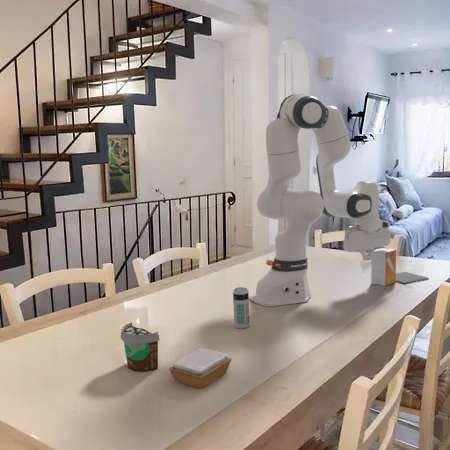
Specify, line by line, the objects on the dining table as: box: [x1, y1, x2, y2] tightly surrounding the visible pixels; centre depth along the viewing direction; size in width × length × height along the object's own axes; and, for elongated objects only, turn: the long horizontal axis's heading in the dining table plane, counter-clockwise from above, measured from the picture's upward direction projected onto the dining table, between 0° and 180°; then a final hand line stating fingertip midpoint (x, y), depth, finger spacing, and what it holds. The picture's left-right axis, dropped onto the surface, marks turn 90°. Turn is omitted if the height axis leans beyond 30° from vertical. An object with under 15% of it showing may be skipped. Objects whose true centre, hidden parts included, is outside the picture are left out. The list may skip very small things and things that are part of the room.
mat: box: [394, 271, 430, 285], centre depth 207 cm, size 13×12×1 cm
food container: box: [120, 322, 160, 373], centre depth 131 cm, size 12×6×10 cm, turn 45°
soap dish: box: [168, 347, 232, 390], centre depth 124 cm, size 12×10×5 cm
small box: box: [370, 247, 397, 287], centre depth 201 cm, size 8×6×13 cm
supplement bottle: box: [232, 286, 250, 330], centre depth 157 cm, size 5×5×12 cm
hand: (367, 260), depth 197 cm, fingers closed
